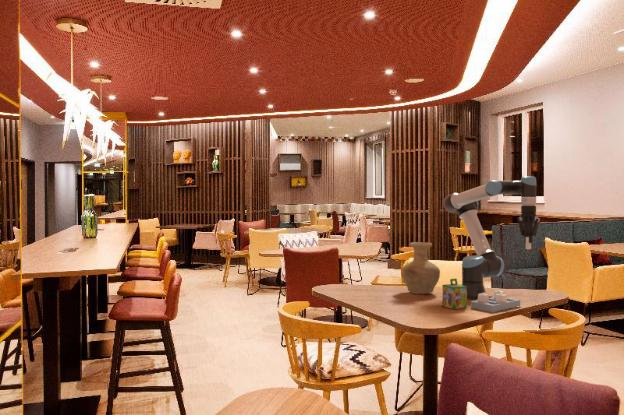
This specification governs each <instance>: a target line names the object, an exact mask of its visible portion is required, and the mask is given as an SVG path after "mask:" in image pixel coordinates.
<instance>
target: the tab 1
mask: <svg viewBox="0 0 624 415" xmlns="http://www.w3.org/2000/svg"><path fill="white" fill-rule="evenodd" d="M489 298H490V294H487V292H486V293H481V294H478V299H477V300H478V302H483V303H488V304H489Z"/></svg>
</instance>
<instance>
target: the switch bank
mask: <svg viewBox="0 0 624 415" xmlns="http://www.w3.org/2000/svg"><path fill="white" fill-rule="evenodd" d="M517 306H520V307H521V299H517V298H510V297H507V302H504V303H500V302H496V299H495V298H494V296H492V297H489V304H488V303H483V302H478V299H474V300H471V301H470V309H473V310H479V311H482V312H488V313H496V312H497V311H498V312H501V310H502V311H506V310H505V309H507V310H510V309H509V308H512V309H514V308H513V307H516V308H518V307H517ZM498 312H497V313H498Z"/></svg>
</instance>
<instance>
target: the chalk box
mask: <svg viewBox="0 0 624 415" xmlns="http://www.w3.org/2000/svg"><path fill="white" fill-rule="evenodd" d="M449 281H450V284H449V283H448V284H442V301H441V302H442V303H441V304H442V308H447V309H452V310H462V309H467V305H468V304H467V303H468V299H467V286H463V285H462V284H458V279H457V278H450V279H449ZM453 282H455V283H453Z"/></svg>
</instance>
